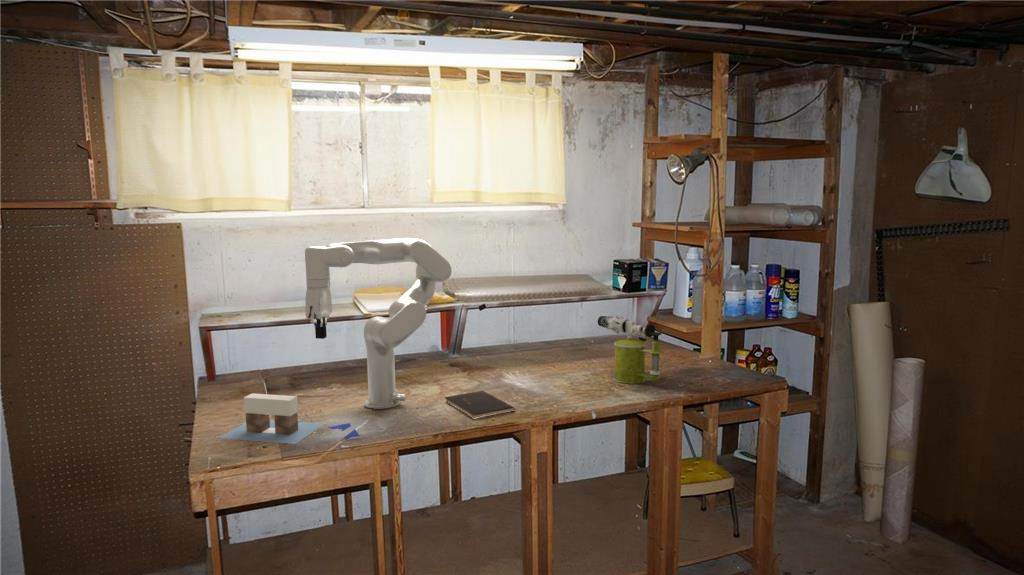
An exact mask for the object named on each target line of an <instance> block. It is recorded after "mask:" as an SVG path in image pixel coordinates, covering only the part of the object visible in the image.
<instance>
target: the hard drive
mask: <svg viewBox="0 0 1024 575" xmlns="http://www.w3.org/2000/svg"><path fill="white" fill-rule="evenodd" d="M351 427H352V425H351V423H342V424H337V425H331V426H328V429H330V430H337V429H338V430H340V431H342V432H343V431H346V430H347V429H348V428H351ZM356 438H357V439H360V438H361V435H360V434H359V432H358V431H357V429H356V428H354V429H353V430H352V431H351V432H350V433H348V434H346V435H345V436H344V437H342V438H341V439H340V440H339V442H344V440H345V441H350V439H351V440H356Z"/></svg>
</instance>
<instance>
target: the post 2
mask: <svg viewBox="0 0 1024 575" xmlns="http://www.w3.org/2000/svg"><path fill="white" fill-rule="evenodd" d="M298 414H299V413H298V412H297V413H295V414H293V415H292V416H280V415H273V416H274V420H275V434H282V435H291V434H292V433H294V432H295V431H297V430H298V422H299V416H298Z"/></svg>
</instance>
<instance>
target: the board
mask: <svg viewBox="0 0 1024 575" xmlns="http://www.w3.org/2000/svg"><path fill="white" fill-rule="evenodd" d="M323 425H325V423H318V422H317V423H316V422H303V421H301V422H300V421H298V430H297V431H295V432H294V433H292V434H291V435H282V434H275V419H274V420H272V419H270V428H268V429H267V430H265V431H263V432H262V433H255V432H247V427H246V422H244V423H242V424H241V425H240V426H237V427H235V428H233V429H231V430H230V431H228V432H227V433H225V434H223V435H221V436H219V437H218V439H224V440H236V441H237V440H239V441H251V442H264V443H276V444H277V443H278V444H289V445H295V444H297V443H298V442H301V440H303V439H304V438H306V437H307V436H309V435H310V434H312V433H313V432H315V431H316V430H317V429H319V428H321V427H322V426H323Z"/></svg>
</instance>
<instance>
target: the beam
mask: <svg viewBox="0 0 1024 575" xmlns="http://www.w3.org/2000/svg"><path fill="white" fill-rule="evenodd" d="M298 403H299V402H298V396H297V395H283V394H281V395H280V394H265V393H253V392H252V393H250V394H248V395H246V396H244V397H243V407H244V414H246V413H253V414H266V415H269V416H274V415H280V416H292V415H293V414H295V413H297V414H298V412H299V405H298Z"/></svg>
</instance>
